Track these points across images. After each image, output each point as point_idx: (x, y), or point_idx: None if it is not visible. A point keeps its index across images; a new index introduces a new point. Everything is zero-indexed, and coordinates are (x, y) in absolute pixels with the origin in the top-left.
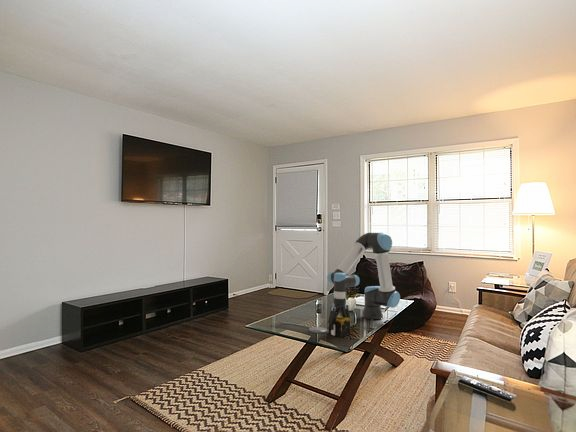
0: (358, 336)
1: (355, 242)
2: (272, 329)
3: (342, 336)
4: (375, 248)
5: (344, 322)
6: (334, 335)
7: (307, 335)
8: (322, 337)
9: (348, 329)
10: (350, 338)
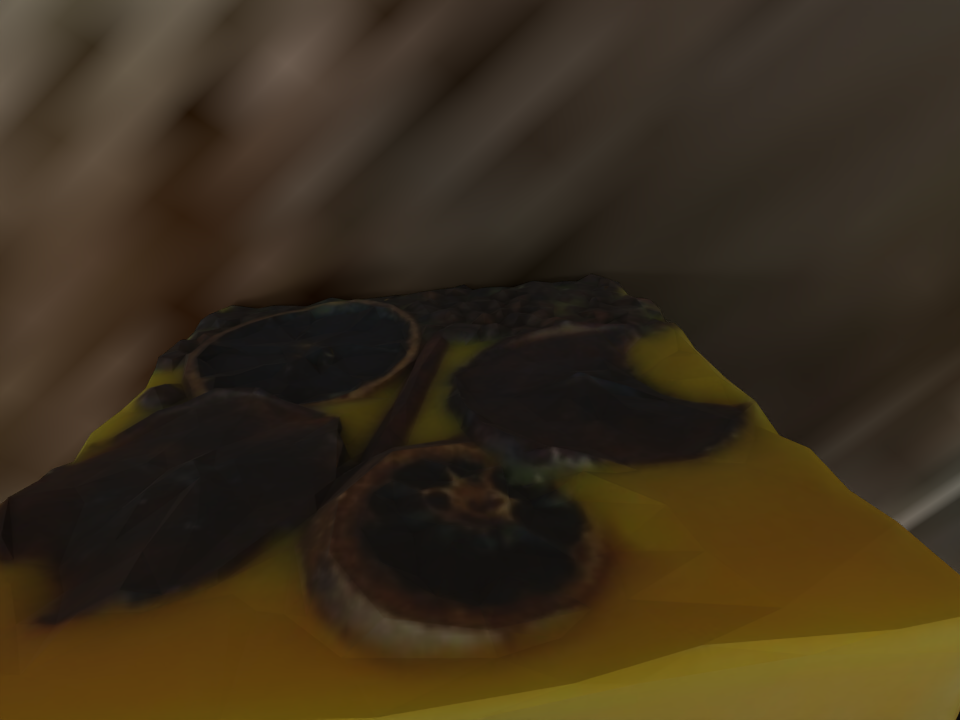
0: (107, 22)
1: None
2: None
3: (558, 283)
4: None
5: (539, 555)
6: None
7: None
8: (856, 480)
9: (257, 370)
10: (479, 58)
